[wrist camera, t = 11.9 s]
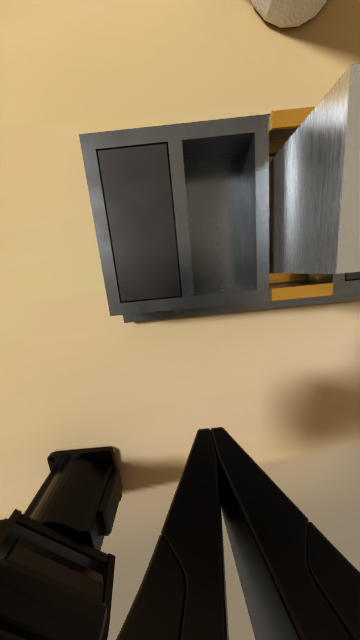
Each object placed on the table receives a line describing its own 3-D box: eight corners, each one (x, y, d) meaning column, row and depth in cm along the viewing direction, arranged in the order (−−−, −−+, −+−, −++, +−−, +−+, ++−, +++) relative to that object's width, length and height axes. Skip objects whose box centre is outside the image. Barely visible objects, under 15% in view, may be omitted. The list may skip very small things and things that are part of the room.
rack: (126, 320, 18) (112, 333, 14) (100, 150, 16) (72, 106, 12) (365, 297, 18) (419, 304, 14) (382, 120, 15) (456, 64, 11)
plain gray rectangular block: (261, 273, 16) (336, 273, 9) (260, 172, 15) (350, 64, 7) (299, 269, 16) (409, 266, 9) (302, 168, 15) (439, 55, 7)
